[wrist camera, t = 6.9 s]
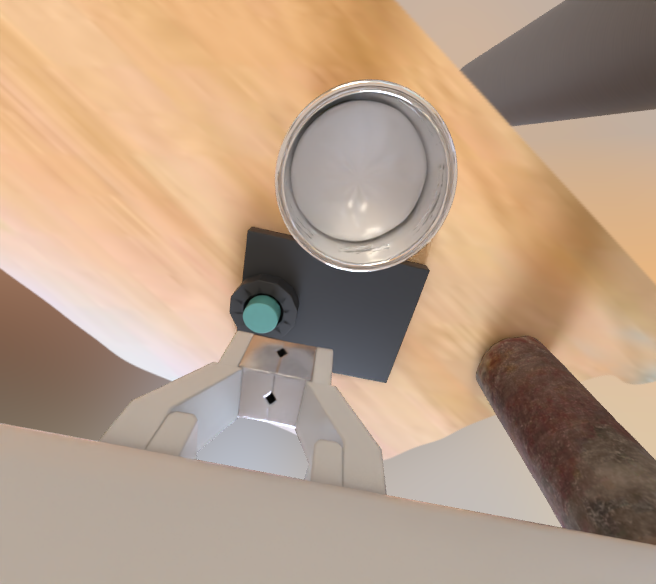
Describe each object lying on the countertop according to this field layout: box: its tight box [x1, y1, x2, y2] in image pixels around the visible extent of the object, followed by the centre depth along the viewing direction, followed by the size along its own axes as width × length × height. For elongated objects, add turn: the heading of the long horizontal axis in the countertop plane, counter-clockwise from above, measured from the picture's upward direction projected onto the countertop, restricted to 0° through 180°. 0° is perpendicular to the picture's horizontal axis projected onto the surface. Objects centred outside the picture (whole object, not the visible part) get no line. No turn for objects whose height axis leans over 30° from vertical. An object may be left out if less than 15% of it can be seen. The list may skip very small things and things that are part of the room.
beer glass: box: [275, 79, 457, 272], centre depth 18 cm, size 7×7×15 cm
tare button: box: [243, 295, 281, 333], centre depth 27 cm, size 3×3×2 cm
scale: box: [230, 227, 430, 383], centre depth 29 cm, size 16×13×3 cm
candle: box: [476, 336, 656, 545], centre depth 23 cm, size 8×7×20 cm
